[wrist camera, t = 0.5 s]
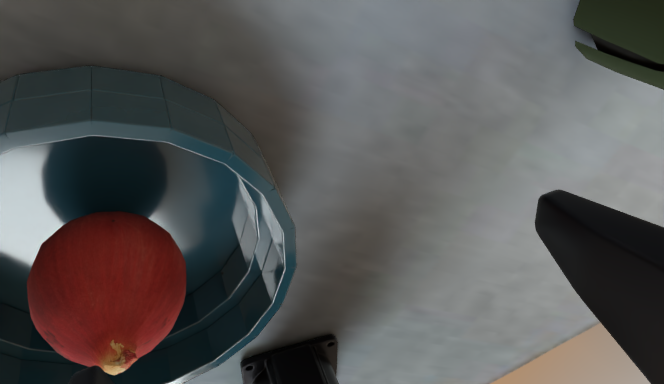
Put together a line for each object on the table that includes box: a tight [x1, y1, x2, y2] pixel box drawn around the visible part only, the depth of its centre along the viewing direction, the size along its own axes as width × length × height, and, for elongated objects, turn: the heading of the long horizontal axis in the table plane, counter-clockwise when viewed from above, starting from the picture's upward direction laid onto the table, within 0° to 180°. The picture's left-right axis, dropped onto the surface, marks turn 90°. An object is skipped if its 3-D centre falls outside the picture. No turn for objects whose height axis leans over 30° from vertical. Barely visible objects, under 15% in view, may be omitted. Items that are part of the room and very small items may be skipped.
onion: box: [27, 211, 186, 375], centre depth 21 cm, size 6×6×8 cm
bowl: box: [0, 66, 297, 384], centre depth 22 cm, size 15×15×4 cm
